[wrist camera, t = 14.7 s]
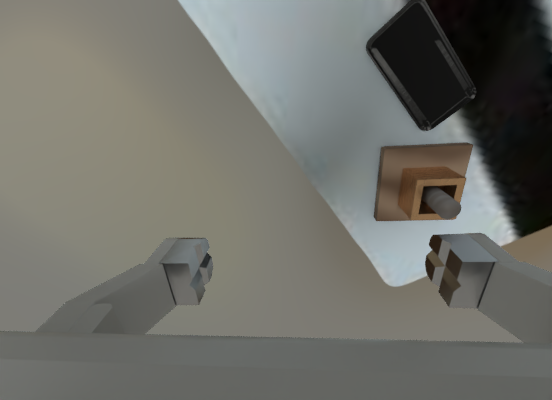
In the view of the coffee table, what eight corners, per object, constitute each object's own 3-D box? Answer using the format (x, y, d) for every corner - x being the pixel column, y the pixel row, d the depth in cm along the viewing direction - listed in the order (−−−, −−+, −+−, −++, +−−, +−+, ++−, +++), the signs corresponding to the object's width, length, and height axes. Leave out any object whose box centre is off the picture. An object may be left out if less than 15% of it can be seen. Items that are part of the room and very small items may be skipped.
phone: (425, 134, 36) (363, 44, 32) (421, 132, 37) (361, 45, 33) (480, 93, 34) (421, -9, 30) (475, 93, 35) (417, -6, 31)
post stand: (381, 146, 38) (406, 165, 30) (466, 142, 37) (518, 160, 28) (373, 216, 43) (393, 250, 35) (448, 214, 42) (487, 249, 33)
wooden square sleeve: (402, 168, 38) (417, 180, 33) (445, 166, 37) (466, 178, 33) (397, 204, 40) (410, 220, 36) (437, 203, 40) (455, 218, 35)
